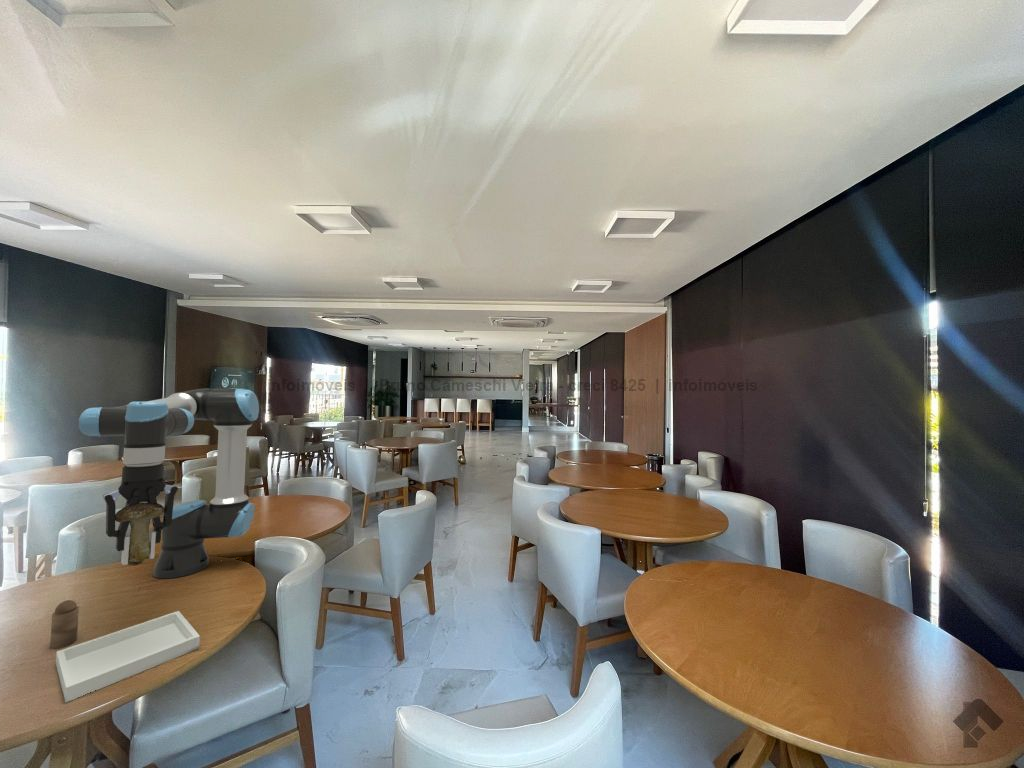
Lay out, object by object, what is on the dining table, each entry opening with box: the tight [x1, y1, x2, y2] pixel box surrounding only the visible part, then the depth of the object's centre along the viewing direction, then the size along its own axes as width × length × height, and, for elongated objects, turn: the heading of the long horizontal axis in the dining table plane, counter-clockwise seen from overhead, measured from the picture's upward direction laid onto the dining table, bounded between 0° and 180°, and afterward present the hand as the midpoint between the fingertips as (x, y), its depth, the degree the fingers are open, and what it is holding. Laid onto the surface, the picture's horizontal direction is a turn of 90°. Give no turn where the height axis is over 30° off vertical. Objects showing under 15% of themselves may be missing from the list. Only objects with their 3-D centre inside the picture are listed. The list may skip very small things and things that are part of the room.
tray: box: [55, 610, 201, 704], centre depth 93 cm, size 22×18×3 cm
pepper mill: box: [49, 599, 80, 650], centre depth 97 cm, size 4×4×10 cm
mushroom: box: [115, 502, 164, 566], centre depth 95 cm, size 9×9×15 cm
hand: (137, 560), depth 95 cm, fingers closed on mushroom, 4 cm apart
